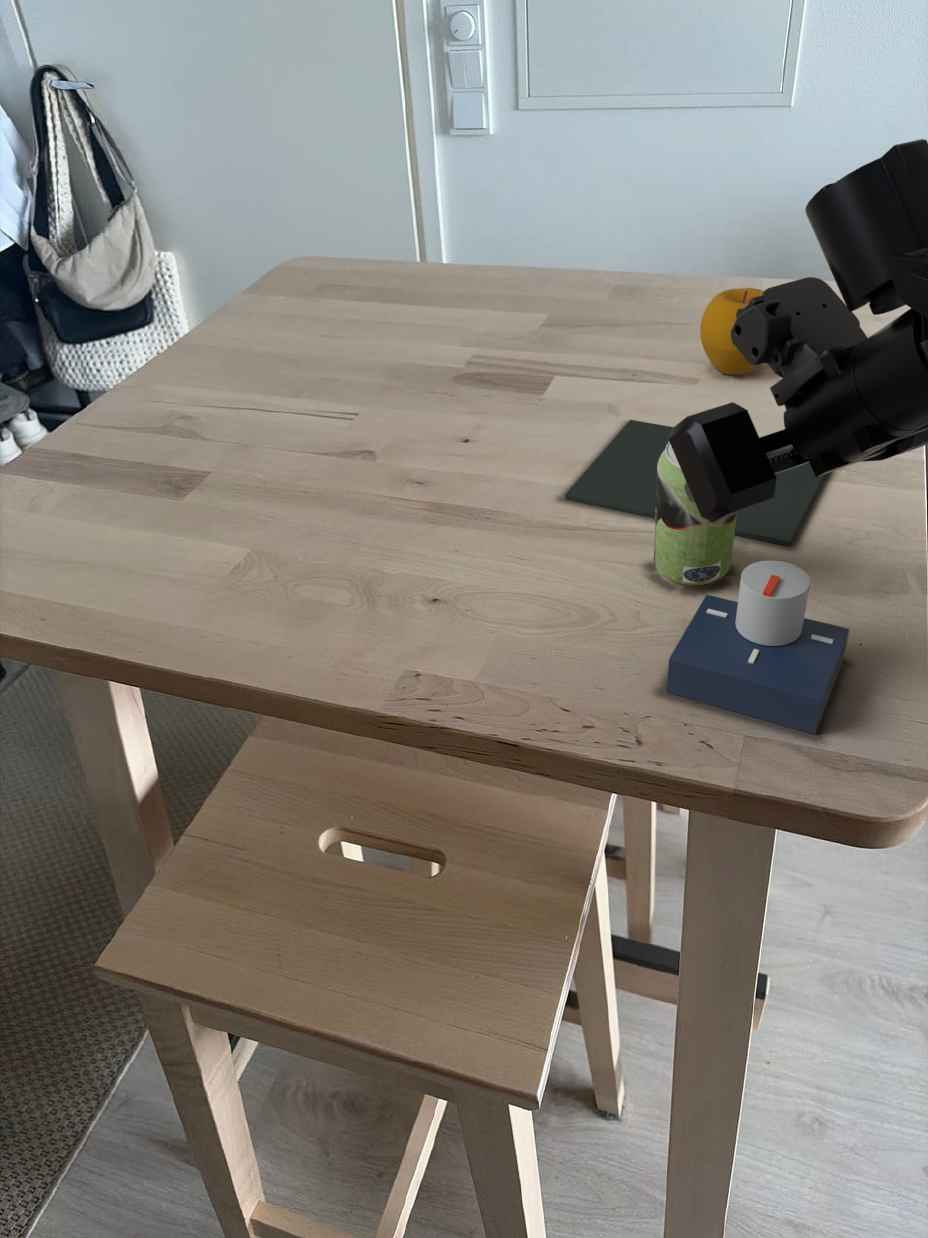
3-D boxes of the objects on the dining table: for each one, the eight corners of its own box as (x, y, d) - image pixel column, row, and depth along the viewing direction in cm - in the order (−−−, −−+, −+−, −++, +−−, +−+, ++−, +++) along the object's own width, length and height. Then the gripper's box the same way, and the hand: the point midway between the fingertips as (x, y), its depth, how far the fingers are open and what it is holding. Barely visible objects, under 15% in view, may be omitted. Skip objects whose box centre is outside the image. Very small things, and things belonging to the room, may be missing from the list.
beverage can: (725, 549, 82) (740, 415, 74) (736, 602, 76) (753, 463, 68) (648, 549, 82) (655, 416, 75) (652, 602, 76) (660, 464, 69)
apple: (736, 394, 104) (744, 311, 99) (679, 370, 110) (684, 290, 105) (792, 371, 108) (804, 290, 102) (734, 349, 113) (742, 271, 108)
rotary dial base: (849, 643, 71) (857, 608, 69) (815, 735, 64) (822, 698, 62) (712, 609, 75) (716, 575, 73) (666, 692, 68) (668, 656, 66)
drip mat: (833, 459, 92) (834, 454, 92) (789, 546, 81) (790, 541, 81) (630, 423, 100) (630, 419, 100) (565, 499, 90) (564, 494, 89)
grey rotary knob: (745, 601, 71) (752, 550, 68) (808, 616, 69) (817, 564, 66) (727, 636, 68) (733, 585, 65) (792, 653, 66) (801, 600, 63)
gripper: (960, 216, 58) (800, 338, 73) (702, 284, 52) (584, 403, 67) (1039, 389, 57) (861, 478, 72) (786, 480, 51) (648, 556, 66)
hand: (742, 474), depth 69 cm, fingers open, 9 cm apart
